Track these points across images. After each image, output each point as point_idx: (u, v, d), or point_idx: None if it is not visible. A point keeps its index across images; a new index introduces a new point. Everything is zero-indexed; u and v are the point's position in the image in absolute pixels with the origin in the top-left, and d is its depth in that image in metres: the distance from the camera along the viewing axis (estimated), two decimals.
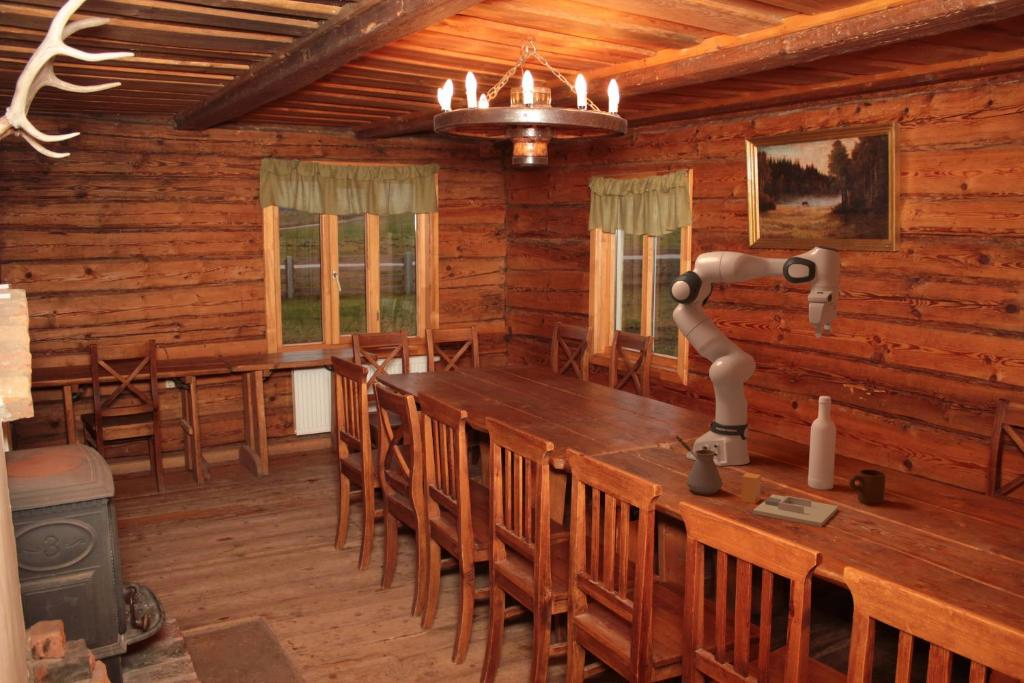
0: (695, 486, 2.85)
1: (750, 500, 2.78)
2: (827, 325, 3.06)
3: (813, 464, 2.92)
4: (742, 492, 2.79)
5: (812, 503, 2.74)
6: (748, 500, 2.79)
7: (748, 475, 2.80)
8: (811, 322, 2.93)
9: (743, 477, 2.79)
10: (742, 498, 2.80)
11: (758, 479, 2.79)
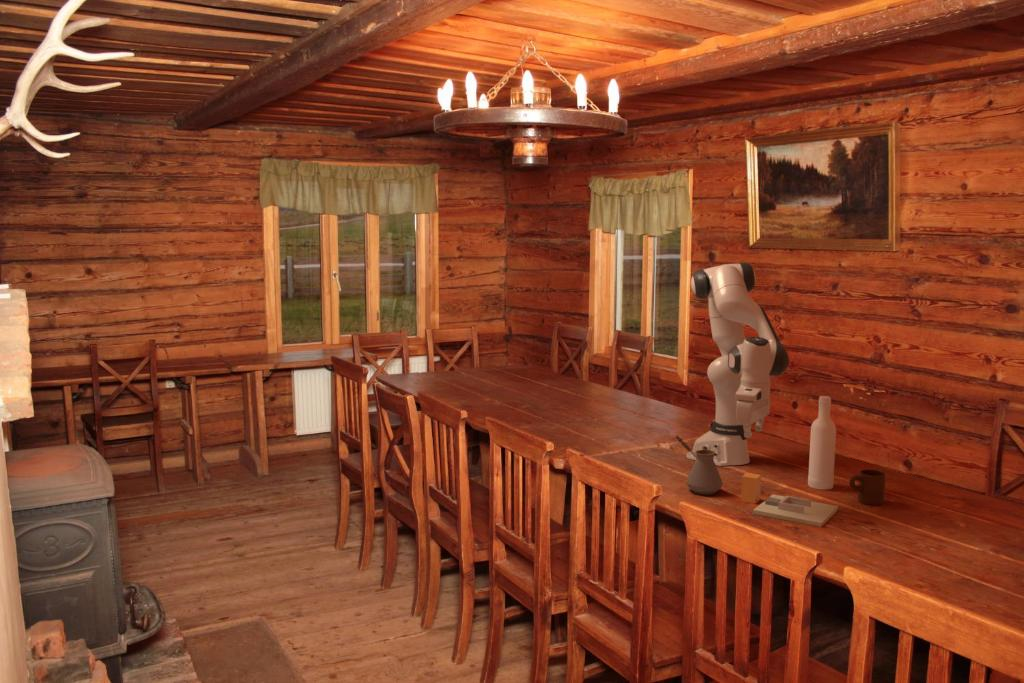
0: (695, 486, 2.85)
1: (750, 500, 2.78)
2: (759, 421, 2.82)
3: (813, 464, 2.92)
4: (742, 492, 2.79)
5: (812, 503, 2.74)
6: (748, 500, 2.79)
7: (748, 475, 2.80)
8: (739, 422, 2.69)
9: (743, 477, 2.79)
10: (742, 498, 2.80)
11: (758, 479, 2.79)
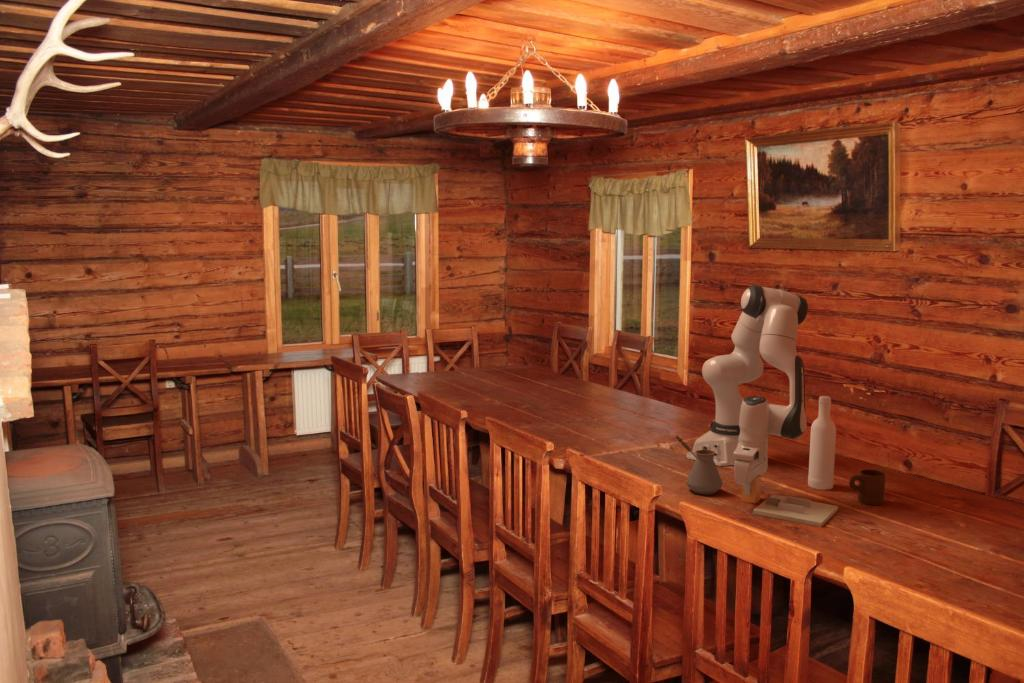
0: (695, 486, 2.85)
1: (750, 500, 2.78)
2: None
3: (813, 464, 2.92)
4: (742, 491, 2.79)
5: (812, 503, 2.74)
6: (748, 500, 2.79)
7: None
8: (736, 481, 2.72)
9: None
10: (742, 498, 2.80)
11: (758, 479, 2.79)
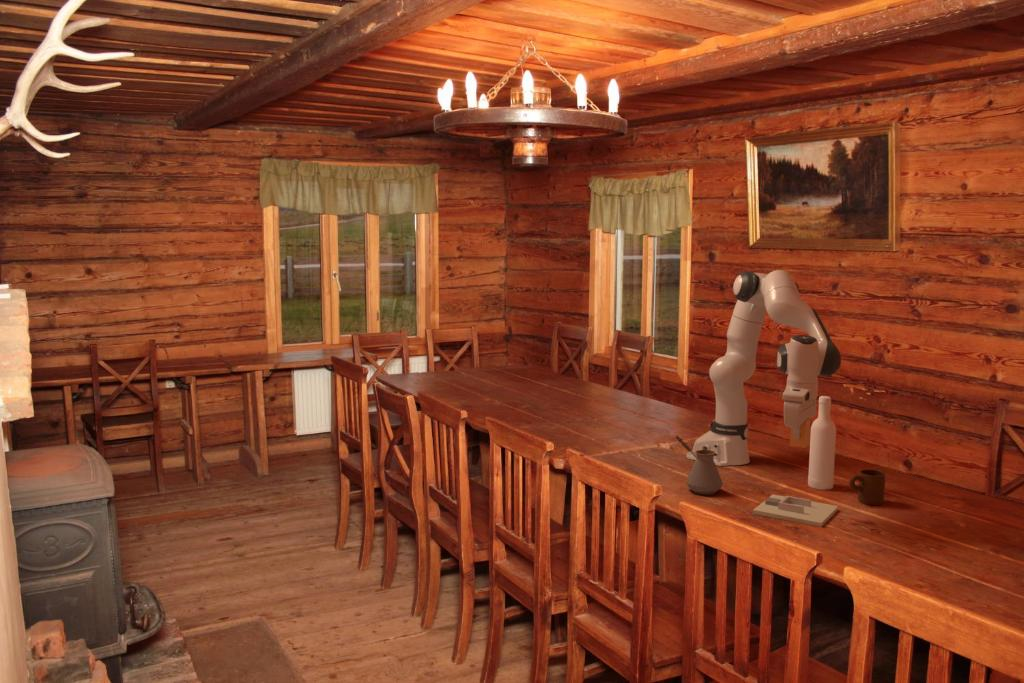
0: (695, 486, 2.85)
1: (800, 444, 2.64)
2: None
3: (813, 464, 2.92)
4: (791, 436, 2.66)
5: (812, 503, 2.74)
6: (797, 444, 2.65)
7: None
8: (786, 424, 2.58)
9: None
10: (791, 443, 2.66)
11: (808, 422, 2.65)
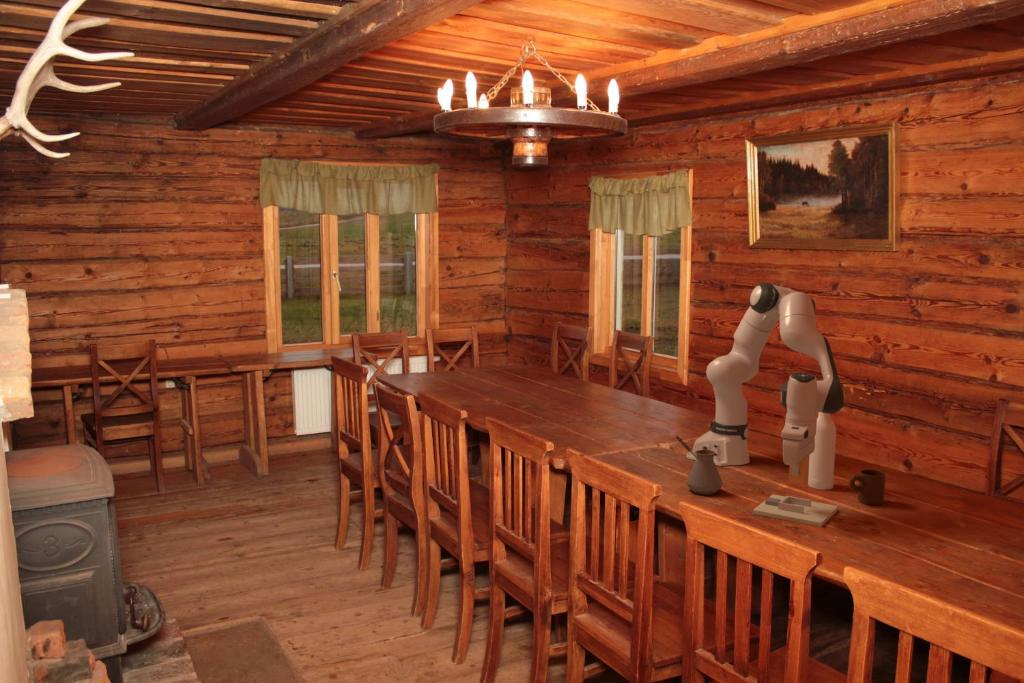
0: (695, 486, 2.85)
1: (799, 481, 2.66)
2: None
3: (813, 464, 2.92)
4: (790, 472, 2.67)
5: (812, 503, 2.74)
6: (796, 481, 2.66)
7: None
8: (785, 462, 2.60)
9: None
10: (790, 479, 2.67)
11: (807, 459, 2.66)
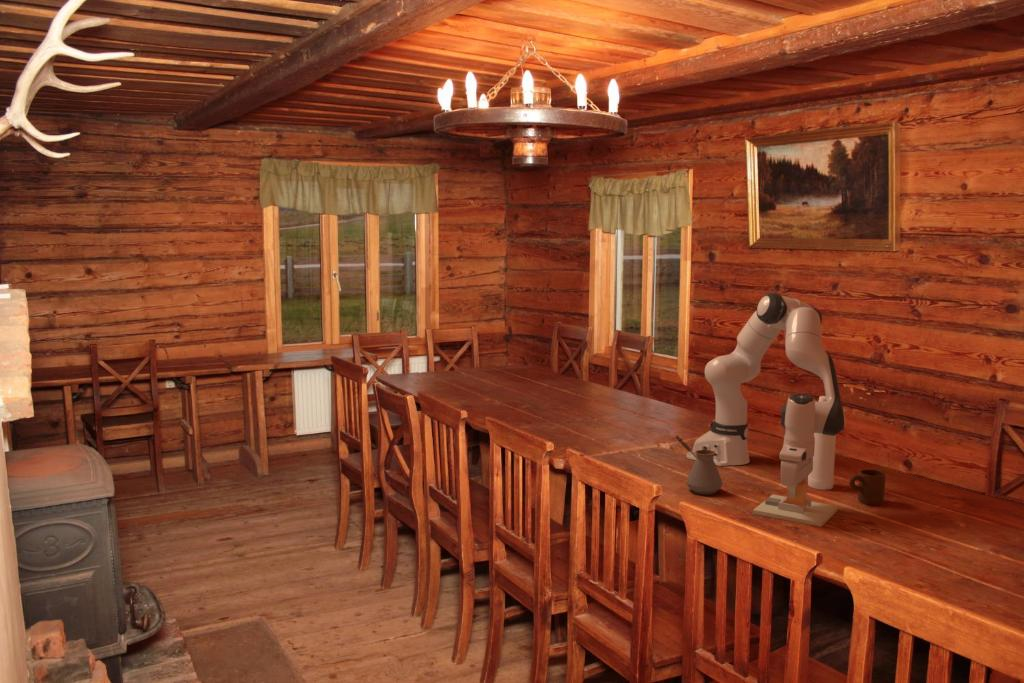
0: (695, 486, 2.85)
1: None
2: (801, 480, 2.72)
3: (813, 464, 2.92)
4: (787, 499, 2.68)
5: (812, 503, 2.74)
6: None
7: None
8: (783, 483, 2.61)
9: None
10: None
11: (805, 486, 2.68)
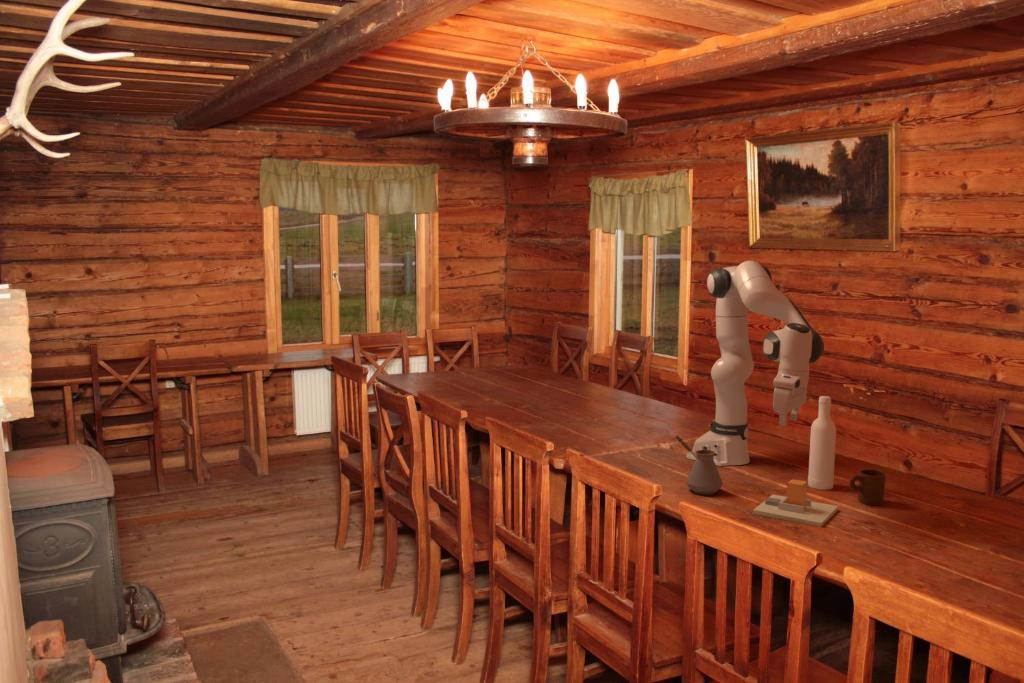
0: (695, 486, 2.85)
1: None
2: (795, 409, 2.76)
3: (813, 464, 2.92)
4: (787, 499, 2.68)
5: (812, 503, 2.74)
6: None
7: (794, 482, 2.69)
8: (775, 409, 2.64)
9: (789, 484, 2.68)
10: None
11: (805, 486, 2.68)
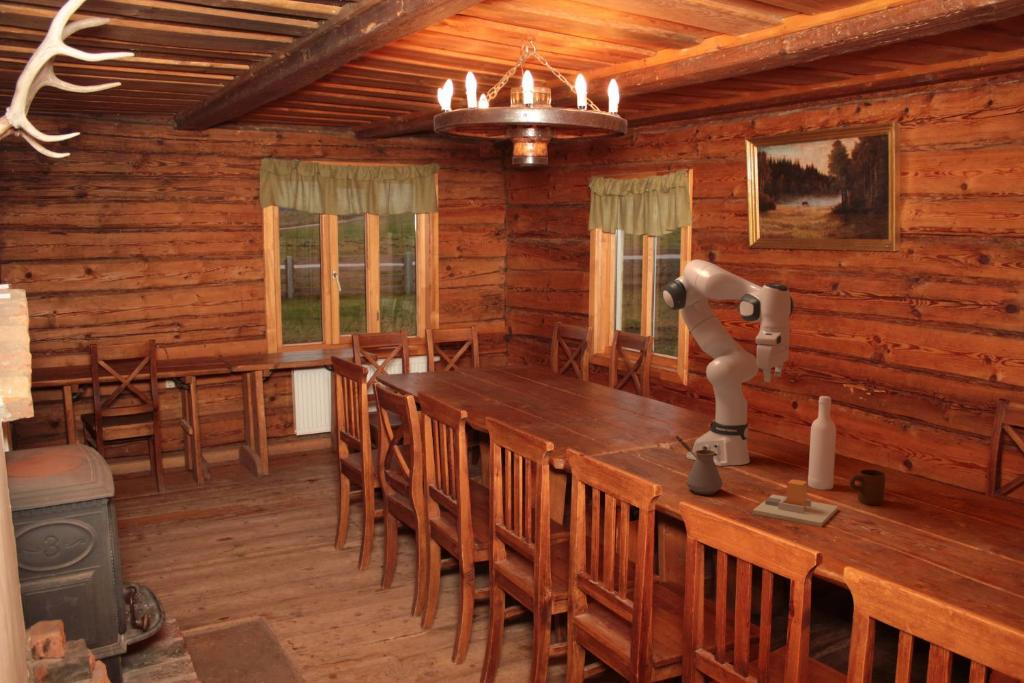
0: (695, 486, 2.85)
1: None
2: (778, 367, 2.86)
3: (813, 464, 2.92)
4: (787, 499, 2.68)
5: (812, 503, 2.74)
6: None
7: (794, 482, 2.69)
8: (759, 366, 2.74)
9: (789, 484, 2.68)
10: None
11: (805, 486, 2.68)
